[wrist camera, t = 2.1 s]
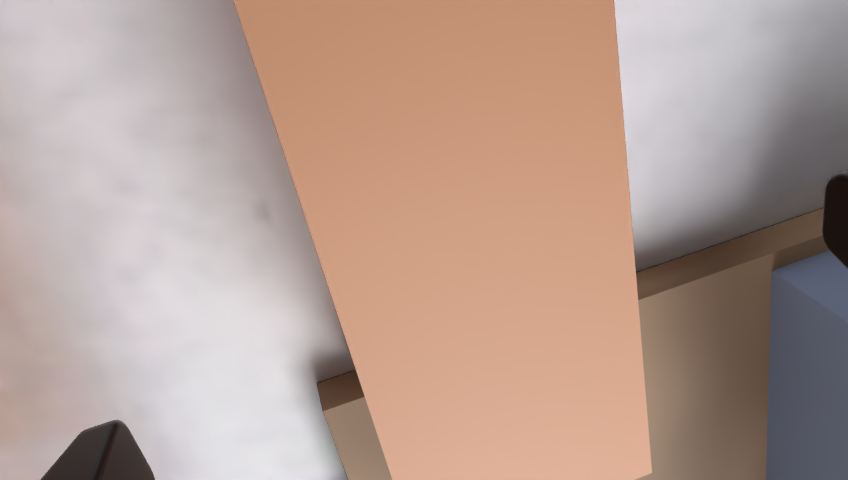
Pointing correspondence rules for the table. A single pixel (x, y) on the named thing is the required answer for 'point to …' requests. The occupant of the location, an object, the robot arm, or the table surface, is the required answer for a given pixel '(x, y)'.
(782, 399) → the pale blue box
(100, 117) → the table surface
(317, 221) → the light orange box
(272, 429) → the table surface
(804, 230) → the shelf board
